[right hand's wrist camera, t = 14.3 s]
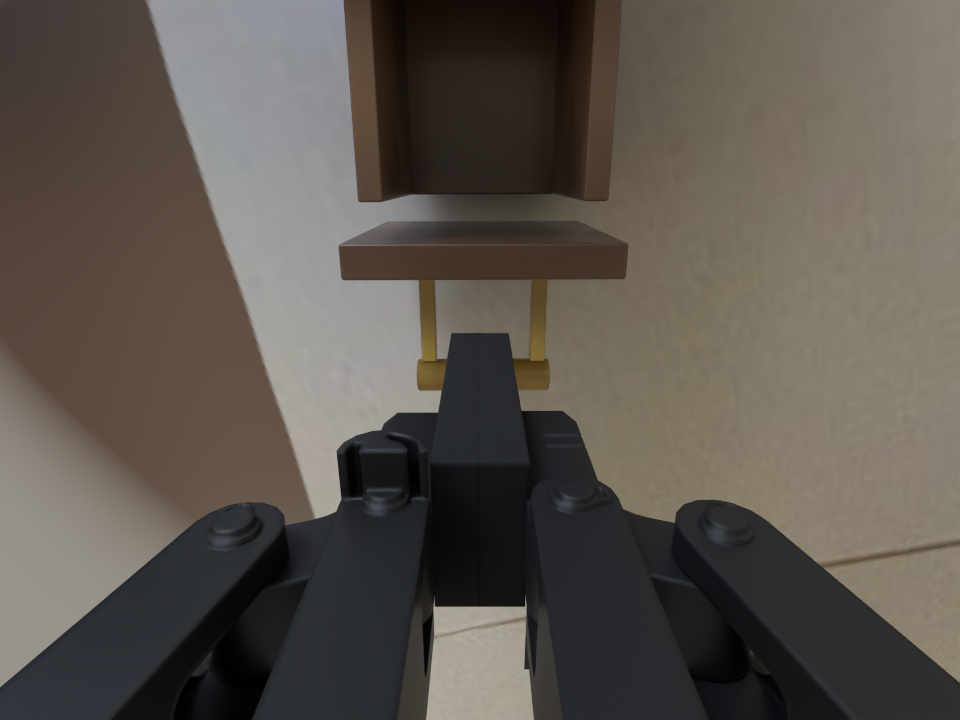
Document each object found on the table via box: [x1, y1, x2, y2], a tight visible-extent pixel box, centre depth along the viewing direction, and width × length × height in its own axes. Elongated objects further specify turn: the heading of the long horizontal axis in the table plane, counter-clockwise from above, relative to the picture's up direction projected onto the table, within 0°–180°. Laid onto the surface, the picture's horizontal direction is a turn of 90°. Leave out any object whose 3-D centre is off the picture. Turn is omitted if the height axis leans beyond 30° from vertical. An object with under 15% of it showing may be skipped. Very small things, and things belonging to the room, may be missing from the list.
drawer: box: [339, 0, 628, 391], centre depth 21 cm, size 24×10×10 cm, turn 0°
